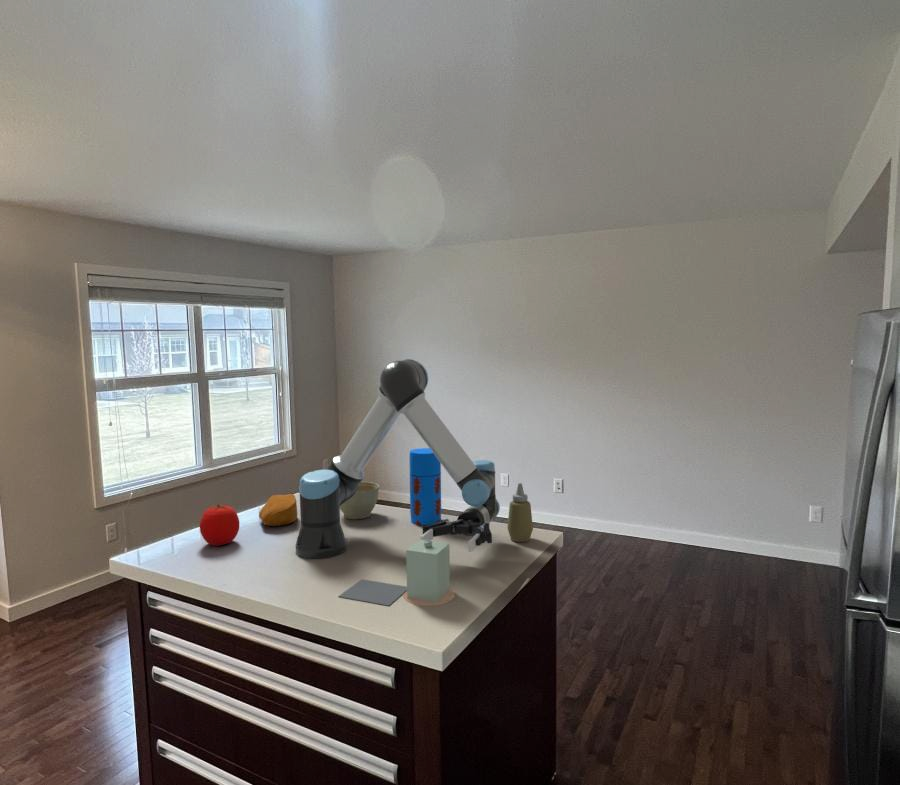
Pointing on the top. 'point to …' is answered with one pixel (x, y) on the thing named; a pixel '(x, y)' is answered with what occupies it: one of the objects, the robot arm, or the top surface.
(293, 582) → the top surface
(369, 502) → the planter bowl
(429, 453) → the thermos
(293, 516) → the bread
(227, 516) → the red apple
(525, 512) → the squeeze bottle
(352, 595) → the mat
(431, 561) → the cover
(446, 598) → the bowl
